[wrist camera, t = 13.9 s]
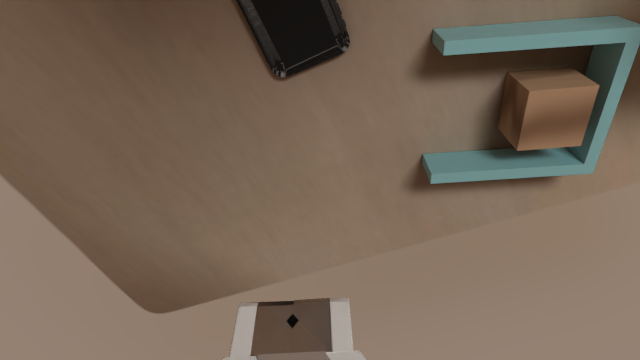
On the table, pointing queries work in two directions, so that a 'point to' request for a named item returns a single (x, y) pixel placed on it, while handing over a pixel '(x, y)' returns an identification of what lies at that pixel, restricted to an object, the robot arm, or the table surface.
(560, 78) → the walnut block
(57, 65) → the table surface
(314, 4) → the phone
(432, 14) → the table surface
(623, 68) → the box
